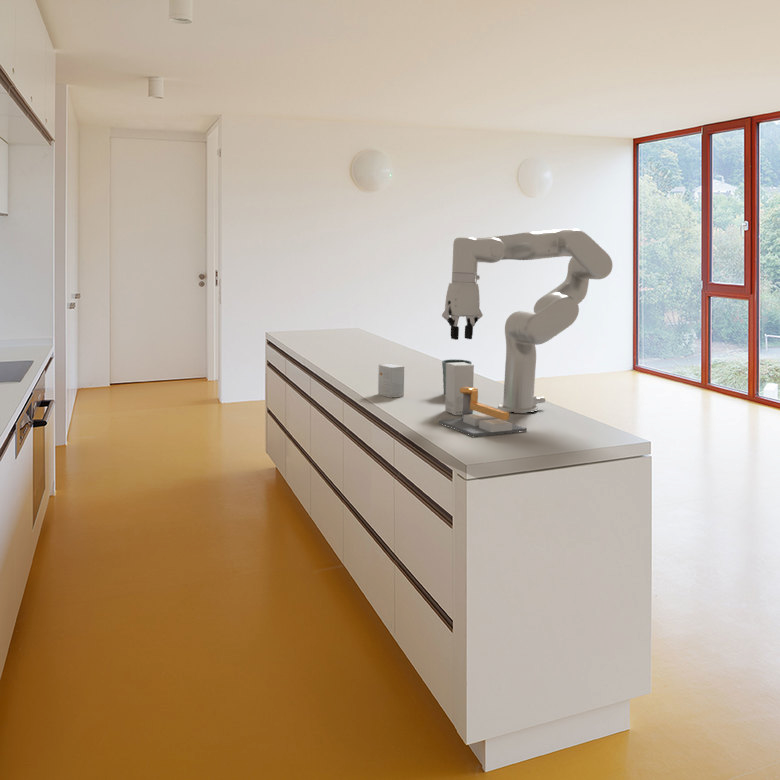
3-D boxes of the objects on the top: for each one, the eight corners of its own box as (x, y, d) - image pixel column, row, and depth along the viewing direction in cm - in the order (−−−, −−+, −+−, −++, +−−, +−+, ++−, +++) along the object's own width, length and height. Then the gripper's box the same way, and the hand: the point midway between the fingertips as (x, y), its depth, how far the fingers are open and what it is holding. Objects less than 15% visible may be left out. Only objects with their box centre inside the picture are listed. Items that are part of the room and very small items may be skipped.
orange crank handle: (455, 406, 229) (456, 387, 228) (470, 404, 232) (471, 386, 231) (498, 420, 211) (499, 400, 210) (513, 419, 214) (514, 399, 213)
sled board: (489, 418, 235) (490, 391, 233) (527, 432, 219) (529, 402, 217) (438, 423, 226) (439, 394, 225) (474, 437, 210) (476, 406, 209)
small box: (404, 396, 266) (405, 366, 264) (390, 398, 263) (391, 367, 261) (390, 393, 273) (391, 363, 271) (377, 394, 270) (378, 364, 268)
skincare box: (472, 415, 239) (475, 365, 236) (452, 415, 237) (455, 365, 235) (462, 409, 247) (465, 361, 244) (443, 410, 245) (445, 361, 242)
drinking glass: (474, 394, 274) (475, 361, 272) (463, 399, 266) (464, 364, 263) (447, 391, 279) (449, 358, 277) (436, 395, 270) (437, 361, 268)
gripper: (480, 278, 242) (477, 337, 245) (434, 278, 234) (431, 338, 237) (494, 279, 236) (491, 339, 239) (447, 279, 228) (444, 341, 231)
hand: (461, 338), depth 238 cm, fingers open, 4 cm apart
